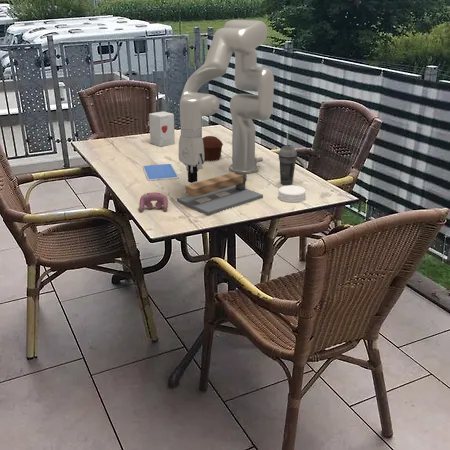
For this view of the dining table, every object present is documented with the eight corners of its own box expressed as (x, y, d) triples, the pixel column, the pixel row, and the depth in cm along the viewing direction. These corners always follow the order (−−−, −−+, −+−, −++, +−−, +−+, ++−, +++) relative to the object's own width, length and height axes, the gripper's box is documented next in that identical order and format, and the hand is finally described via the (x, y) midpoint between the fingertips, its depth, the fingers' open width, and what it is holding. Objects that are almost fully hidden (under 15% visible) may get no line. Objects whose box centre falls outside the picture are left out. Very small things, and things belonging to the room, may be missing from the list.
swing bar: (240, 177, 211) (240, 170, 210) (249, 181, 208) (249, 173, 207) (185, 193, 196) (185, 185, 194) (194, 197, 192) (194, 189, 191)
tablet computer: (178, 179, 225) (178, 176, 225) (147, 182, 223) (147, 179, 222) (171, 166, 243) (171, 163, 242) (142, 168, 240) (142, 165, 239)
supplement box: (160, 147, 270) (159, 116, 264) (150, 143, 276) (148, 113, 270) (175, 143, 275) (174, 113, 269) (164, 140, 281) (163, 110, 276)
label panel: (230, 185, 217) (230, 175, 215) (262, 197, 204) (263, 186, 203) (176, 201, 201) (176, 190, 199) (208, 215, 189) (208, 203, 187)
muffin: (192, 158, 252) (192, 136, 248) (211, 153, 259) (211, 132, 255) (209, 163, 244) (209, 141, 240) (228, 159, 250) (228, 137, 247)
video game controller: (168, 212, 196) (168, 192, 196) (167, 211, 191) (167, 191, 192) (140, 213, 195) (139, 193, 196) (138, 211, 191) (138, 191, 191)
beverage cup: (281, 187, 214) (283, 136, 207) (274, 181, 221) (276, 132, 213) (298, 185, 216) (301, 135, 208) (291, 180, 223) (293, 131, 215)
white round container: (310, 197, 205) (311, 188, 203) (295, 205, 198) (295, 196, 196) (288, 191, 211) (288, 183, 209) (272, 198, 204) (272, 189, 203)
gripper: (170, 130, 200) (172, 179, 207) (196, 138, 189) (197, 189, 197) (187, 127, 204) (188, 174, 212) (212, 134, 194) (213, 184, 201)
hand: (192, 181), depth 204 cm, fingers closed
